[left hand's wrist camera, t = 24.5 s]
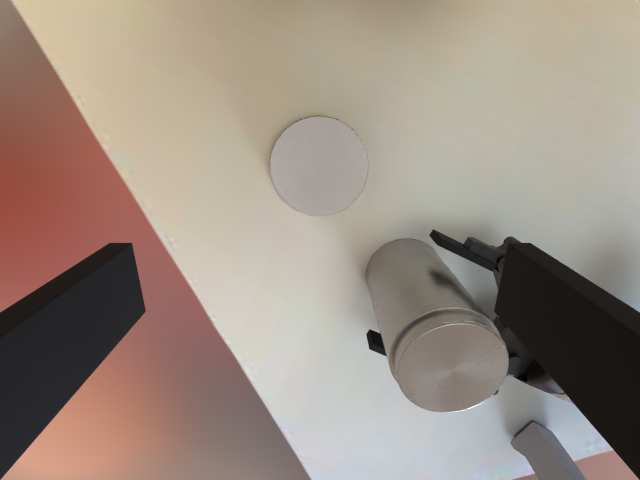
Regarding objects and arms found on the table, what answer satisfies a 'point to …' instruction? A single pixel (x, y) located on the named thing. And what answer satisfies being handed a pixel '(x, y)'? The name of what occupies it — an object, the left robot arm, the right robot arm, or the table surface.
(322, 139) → the lid
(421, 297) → the jar
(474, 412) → the table surface
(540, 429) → the vintage mobile phone
